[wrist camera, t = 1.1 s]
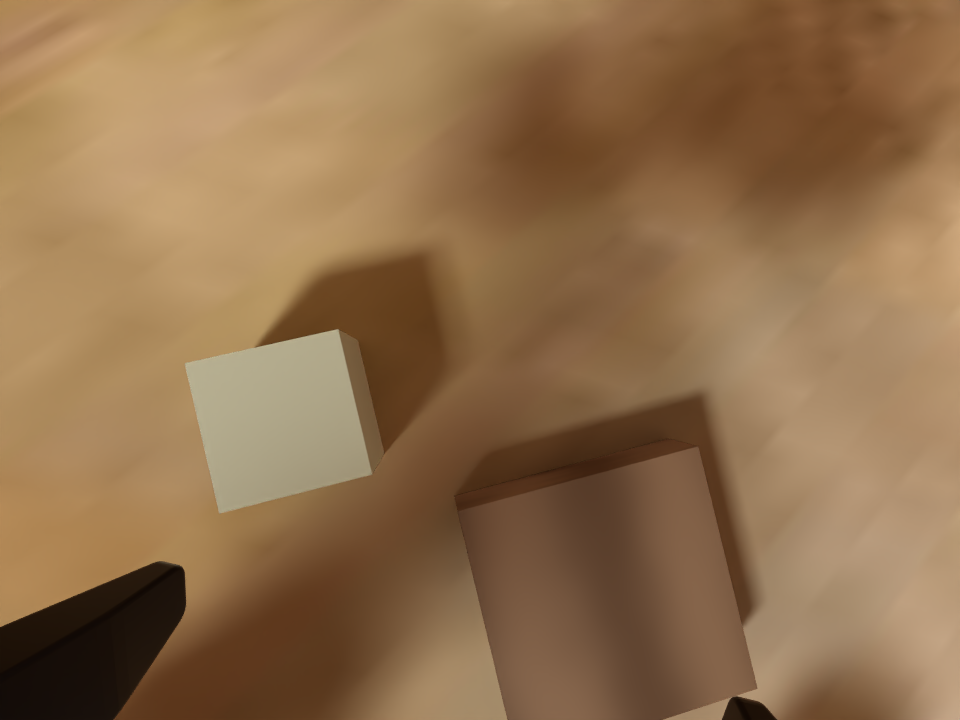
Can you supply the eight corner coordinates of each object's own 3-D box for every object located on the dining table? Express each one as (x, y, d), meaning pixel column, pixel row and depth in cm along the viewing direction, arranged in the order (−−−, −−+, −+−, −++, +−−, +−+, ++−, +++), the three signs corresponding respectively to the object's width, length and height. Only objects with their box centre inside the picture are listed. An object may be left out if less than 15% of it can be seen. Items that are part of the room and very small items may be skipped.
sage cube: (267, 482, 22) (219, 513, 17) (240, 366, 22) (184, 363, 17) (384, 453, 22) (372, 474, 17) (358, 340, 22) (338, 328, 17)
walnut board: (507, 715, 23) (518, 766, 20) (453, 493, 23) (457, 511, 20) (716, 649, 24) (757, 688, 21) (664, 437, 24) (698, 446, 21)
